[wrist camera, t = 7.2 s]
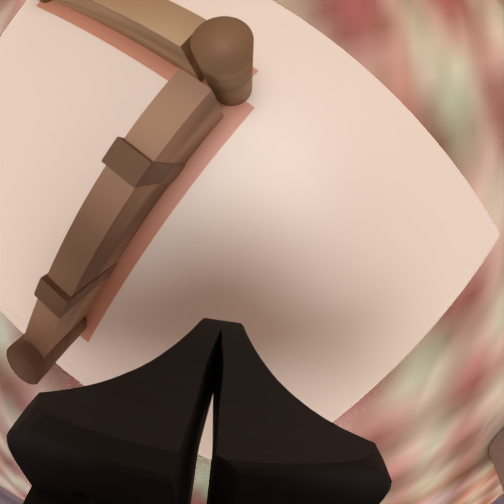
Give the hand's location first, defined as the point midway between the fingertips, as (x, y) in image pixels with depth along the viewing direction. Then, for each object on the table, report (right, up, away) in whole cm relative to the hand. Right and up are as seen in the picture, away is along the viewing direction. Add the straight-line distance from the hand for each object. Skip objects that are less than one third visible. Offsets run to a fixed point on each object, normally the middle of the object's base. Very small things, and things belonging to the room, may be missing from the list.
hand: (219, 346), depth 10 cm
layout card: (-3, +5, +1) cm, 6 cm away
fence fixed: (-4, +12, -1) cm, 13 cm away
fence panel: (-4, +4, +1) cm, 5 cm away
